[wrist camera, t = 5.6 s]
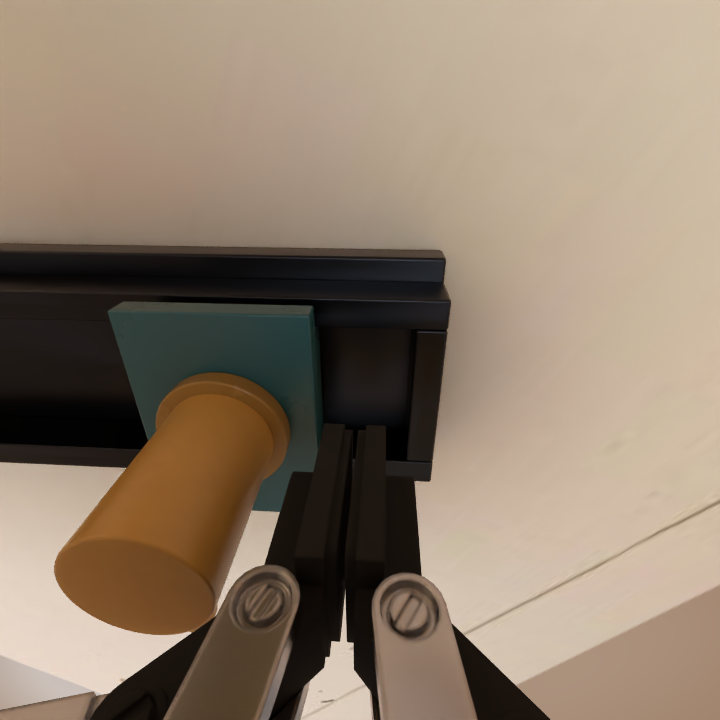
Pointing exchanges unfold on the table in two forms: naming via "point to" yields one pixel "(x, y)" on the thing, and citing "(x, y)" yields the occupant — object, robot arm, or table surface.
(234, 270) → the black rectangular tray
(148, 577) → the nozzle
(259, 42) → the table surface
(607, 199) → the table surface
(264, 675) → the robot arm
